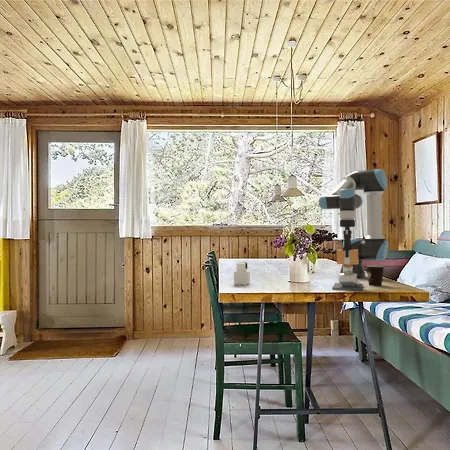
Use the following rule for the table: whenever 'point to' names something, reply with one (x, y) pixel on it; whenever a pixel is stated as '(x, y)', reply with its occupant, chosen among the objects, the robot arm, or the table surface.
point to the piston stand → (347, 280)
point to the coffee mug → (375, 275)
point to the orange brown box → (352, 256)
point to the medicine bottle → (241, 274)
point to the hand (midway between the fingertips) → (347, 263)
